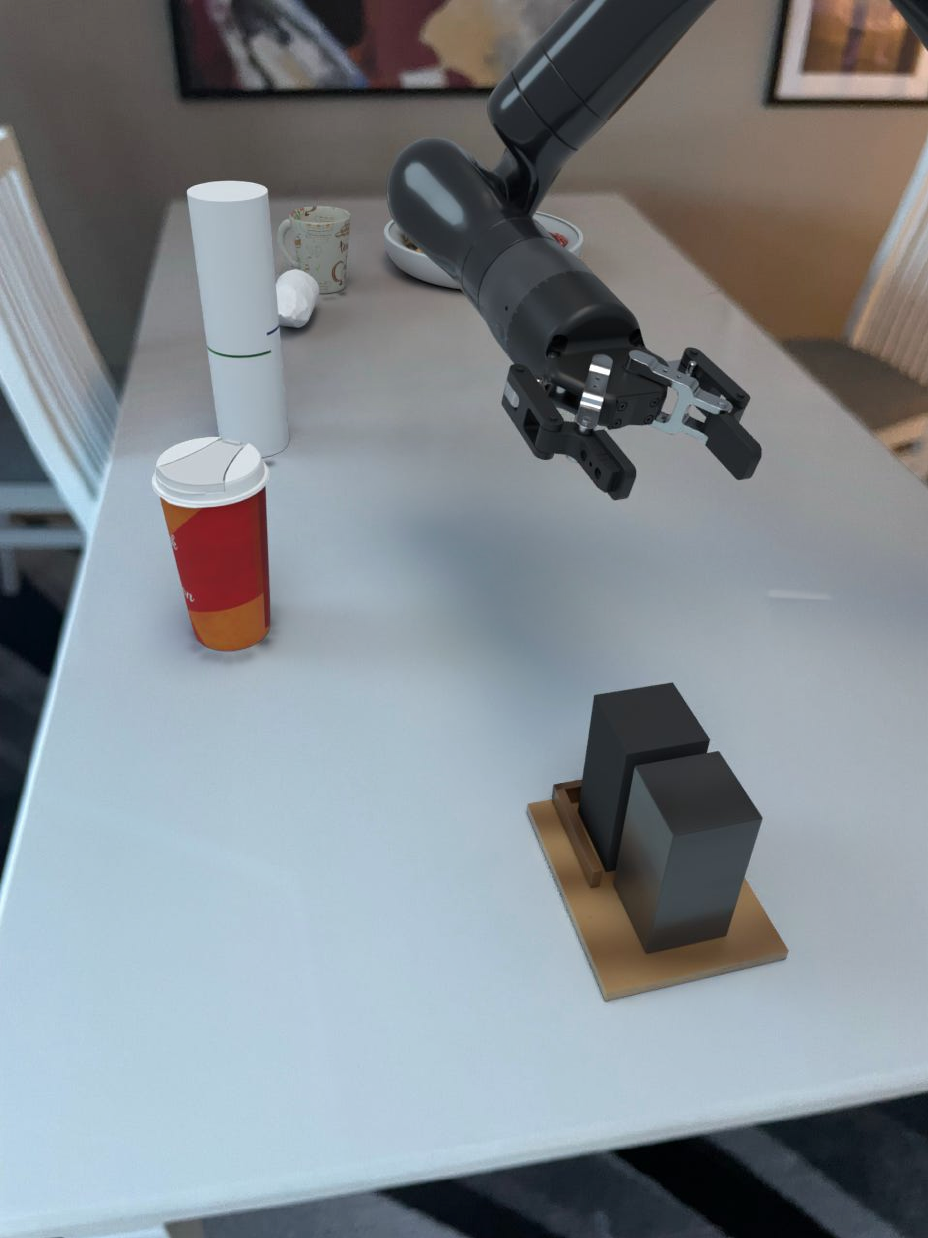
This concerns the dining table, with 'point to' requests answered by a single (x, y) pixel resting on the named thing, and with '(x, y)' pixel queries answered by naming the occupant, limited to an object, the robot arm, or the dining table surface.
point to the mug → (319, 244)
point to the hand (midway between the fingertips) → (691, 477)
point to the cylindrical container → (240, 311)
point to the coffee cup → (219, 537)
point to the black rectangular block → (630, 755)
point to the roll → (296, 297)
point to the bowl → (428, 271)
